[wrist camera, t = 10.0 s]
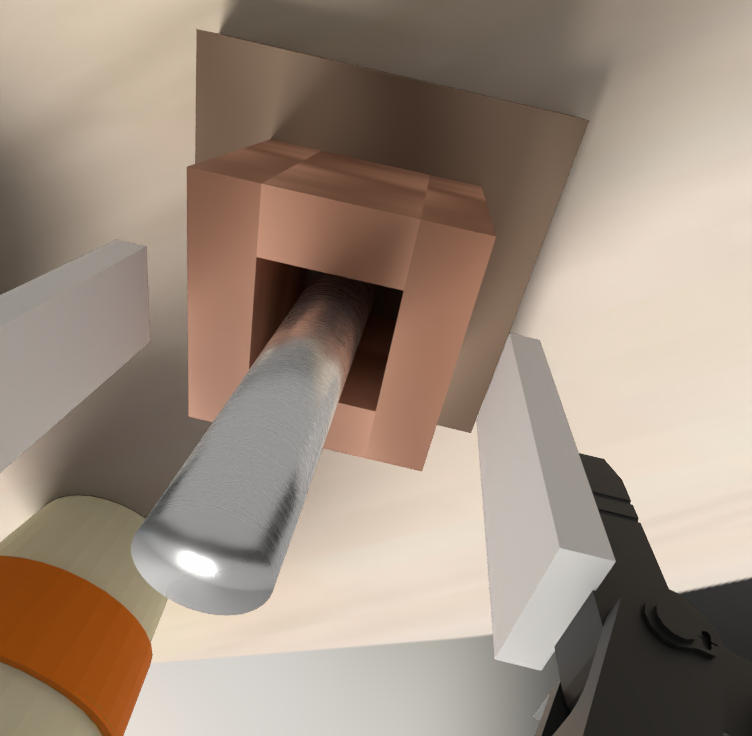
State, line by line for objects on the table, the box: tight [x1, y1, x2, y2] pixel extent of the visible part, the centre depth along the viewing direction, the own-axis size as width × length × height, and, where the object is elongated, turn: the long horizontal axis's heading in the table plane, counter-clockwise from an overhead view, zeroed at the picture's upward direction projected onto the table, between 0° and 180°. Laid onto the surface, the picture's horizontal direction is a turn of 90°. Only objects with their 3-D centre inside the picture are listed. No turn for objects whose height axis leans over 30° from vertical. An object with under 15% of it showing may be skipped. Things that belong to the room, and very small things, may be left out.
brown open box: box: [187, 139, 496, 471], centre depth 15 cm, size 7×7×6 cm
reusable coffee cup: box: [0, 495, 168, 736], centre depth 24 cm, size 13×12×15 cm
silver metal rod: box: [131, 271, 379, 615], centre depth 12 cm, size 2×2×13 cm
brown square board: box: [195, 29, 589, 433], centre depth 19 cm, size 12×12×2 cm
